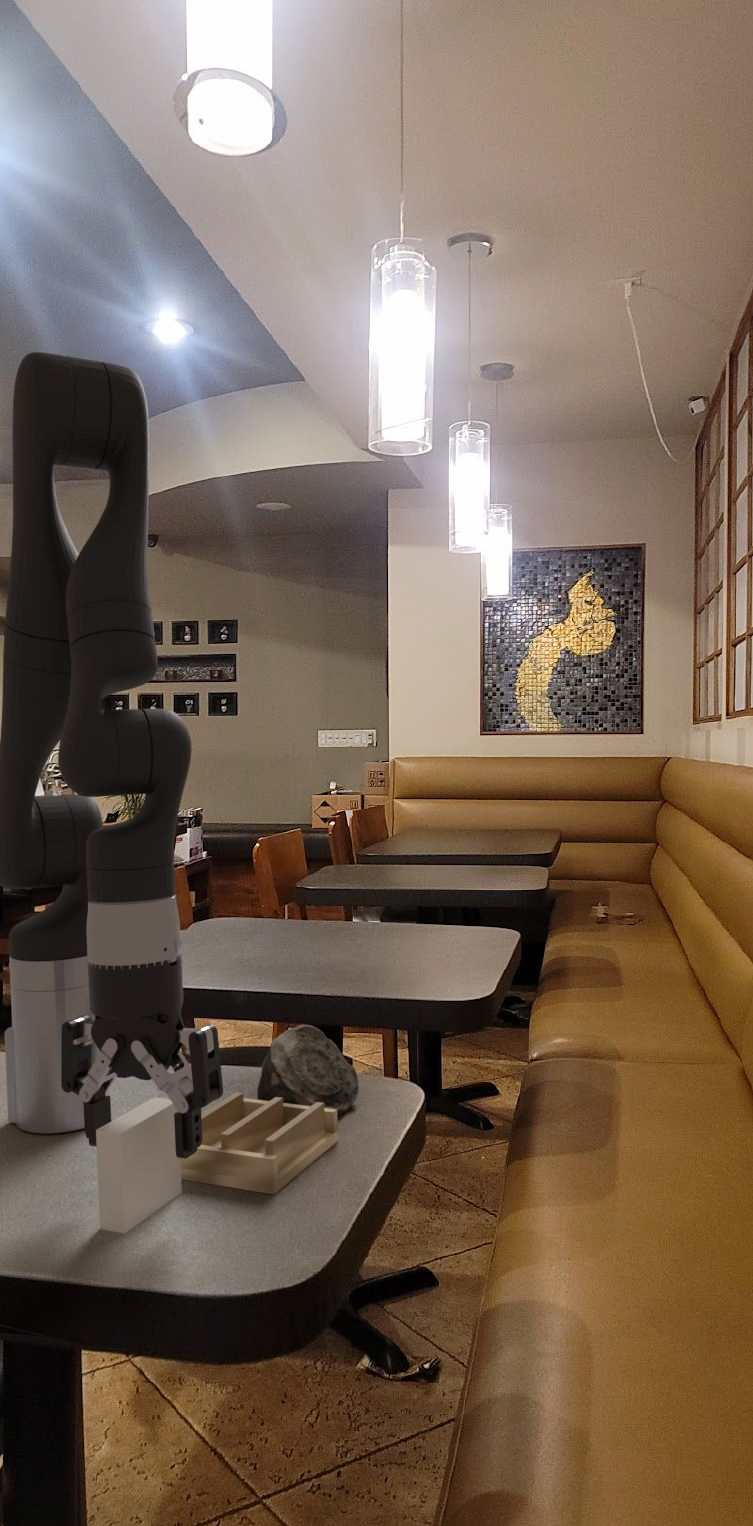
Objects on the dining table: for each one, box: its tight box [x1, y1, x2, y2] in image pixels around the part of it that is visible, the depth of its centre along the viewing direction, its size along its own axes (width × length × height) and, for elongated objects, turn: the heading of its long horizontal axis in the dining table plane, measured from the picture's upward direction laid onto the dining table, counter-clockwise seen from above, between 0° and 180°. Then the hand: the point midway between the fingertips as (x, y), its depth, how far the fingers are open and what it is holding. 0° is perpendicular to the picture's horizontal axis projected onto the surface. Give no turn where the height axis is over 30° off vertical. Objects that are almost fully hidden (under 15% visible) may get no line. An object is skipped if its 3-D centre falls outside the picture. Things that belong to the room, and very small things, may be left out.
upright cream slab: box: [96, 1096, 183, 1234], centre depth 89 cm, size 2×8×8 cm, turn 157°
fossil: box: [256, 1024, 360, 1117], centre depth 112 cm, size 11×9×10 cm
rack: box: [180, 1091, 339, 1195], centre depth 99 cm, size 11×13×4 cm
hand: (143, 1149), depth 89 cm, fingers open, 8 cm apart
